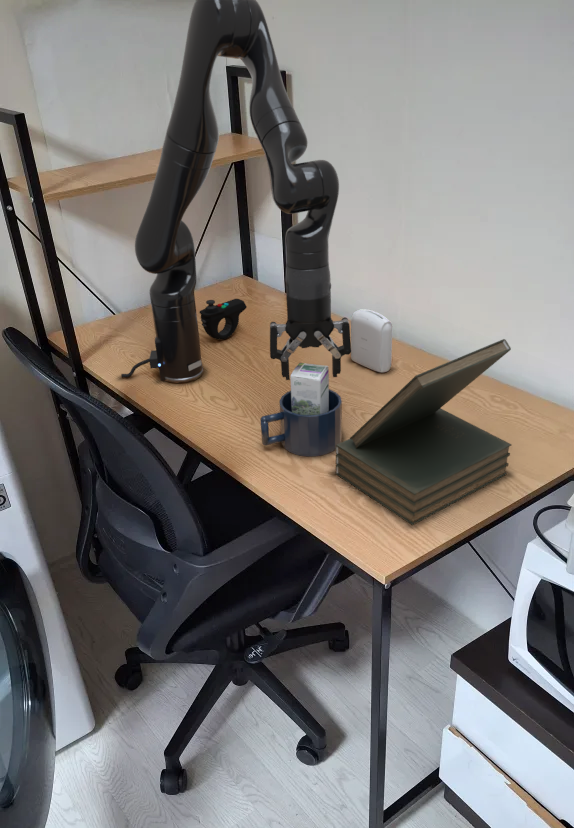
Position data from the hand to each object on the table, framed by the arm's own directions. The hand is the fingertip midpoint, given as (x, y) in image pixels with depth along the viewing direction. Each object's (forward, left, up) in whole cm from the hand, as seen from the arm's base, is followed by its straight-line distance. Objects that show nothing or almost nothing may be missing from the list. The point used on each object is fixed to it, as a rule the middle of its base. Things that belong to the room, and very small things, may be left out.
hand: (311, 376), depth 141 cm
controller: (-18, +50, -14) cm, 55 cm away
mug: (-2, -1, -13) cm, 14 cm away
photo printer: (+15, +31, -14) cm, 37 cm away
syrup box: (0, 0, -13) cm, 13 cm away
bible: (+18, -13, -14) cm, 26 cm away
